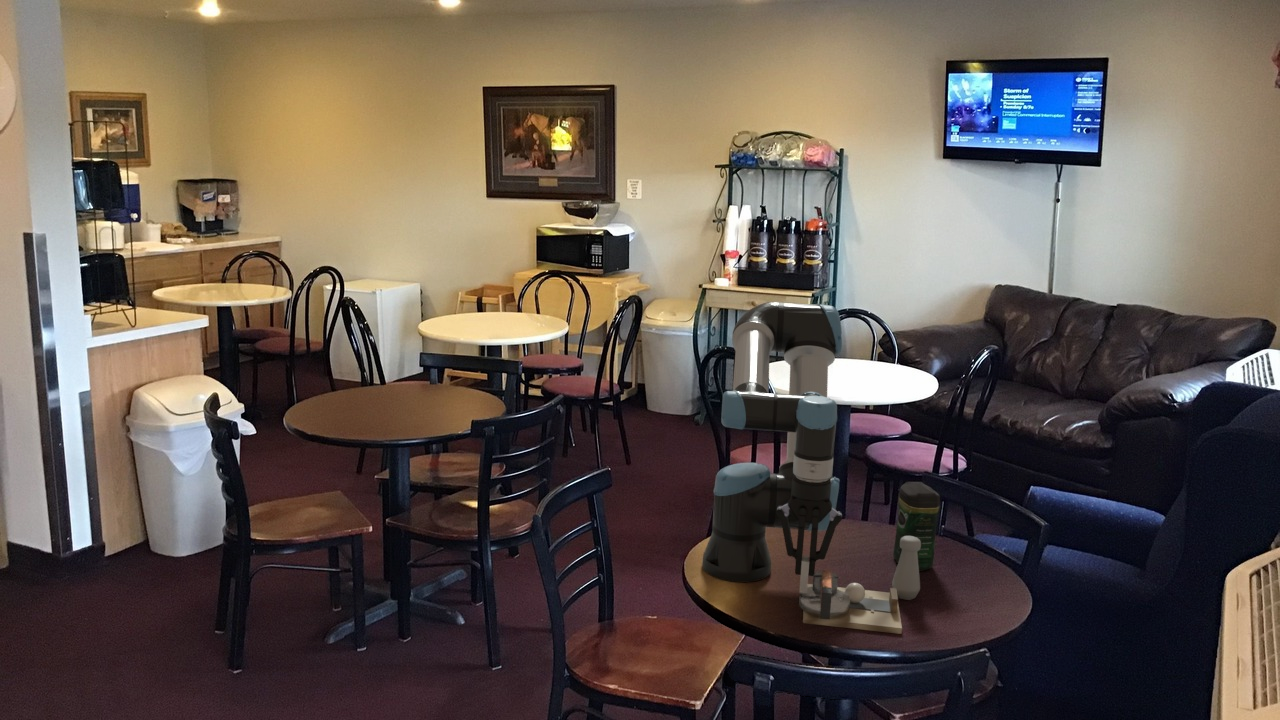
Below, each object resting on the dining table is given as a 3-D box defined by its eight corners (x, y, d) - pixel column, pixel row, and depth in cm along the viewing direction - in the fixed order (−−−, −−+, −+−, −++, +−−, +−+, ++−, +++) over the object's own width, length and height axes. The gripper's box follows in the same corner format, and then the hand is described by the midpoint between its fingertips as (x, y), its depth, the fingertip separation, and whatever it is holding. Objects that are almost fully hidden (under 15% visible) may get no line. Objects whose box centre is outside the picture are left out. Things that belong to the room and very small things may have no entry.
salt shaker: (898, 587, 224) (904, 530, 221) (923, 595, 221) (929, 537, 218) (886, 595, 220) (892, 537, 217) (911, 604, 216) (917, 545, 213)
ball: (844, 604, 211) (846, 586, 211) (844, 596, 215) (845, 578, 214) (864, 607, 211) (866, 588, 210) (863, 598, 215) (865, 580, 214)
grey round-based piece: (797, 625, 202) (800, 590, 200) (799, 590, 217) (802, 557, 216) (850, 631, 200) (853, 595, 198) (848, 595, 216) (851, 562, 214)
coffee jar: (937, 571, 233) (946, 493, 229) (903, 572, 232) (911, 493, 228) (921, 554, 242) (929, 478, 238) (888, 555, 241) (895, 478, 237)
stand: (802, 622, 206) (804, 603, 205) (804, 588, 222) (805, 570, 221) (901, 633, 203) (903, 614, 202) (896, 598, 219) (897, 580, 218)
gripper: (777, 479, 200) (769, 593, 205) (846, 485, 198) (836, 601, 203) (779, 467, 207) (771, 578, 212) (846, 473, 205) (836, 585, 210)
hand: (803, 589), depth 207 cm, fingers closed
